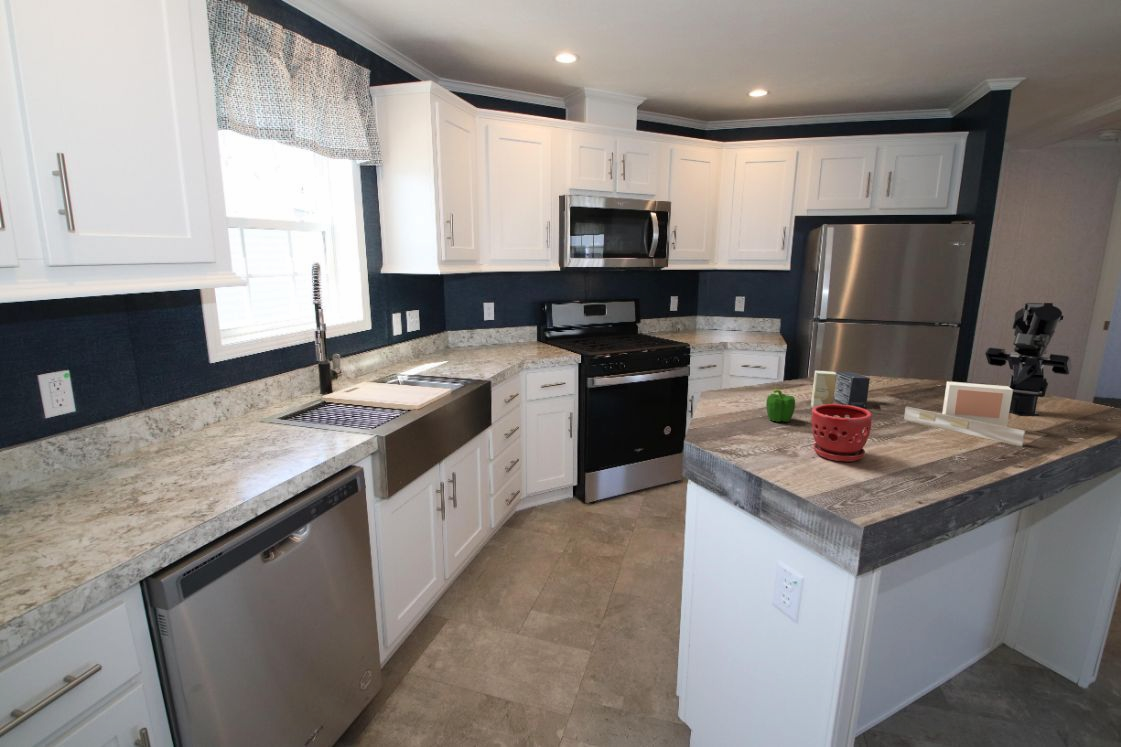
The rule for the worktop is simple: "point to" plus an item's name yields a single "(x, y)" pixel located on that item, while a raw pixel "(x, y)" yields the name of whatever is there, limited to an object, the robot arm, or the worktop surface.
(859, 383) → the small box
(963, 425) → the shelf board
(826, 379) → the skincare box
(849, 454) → the plant pot
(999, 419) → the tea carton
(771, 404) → the bell pepper
